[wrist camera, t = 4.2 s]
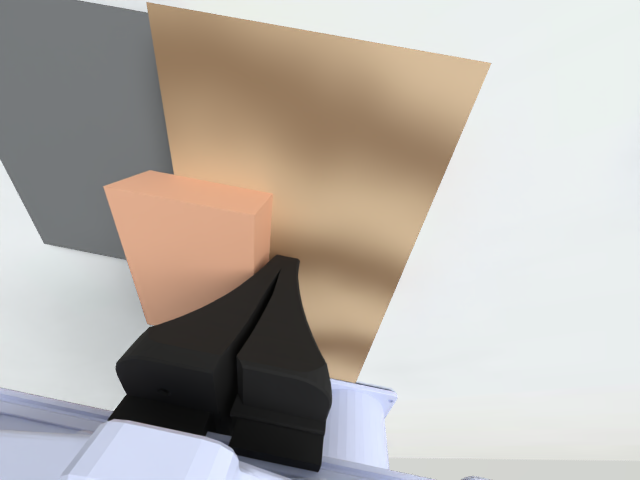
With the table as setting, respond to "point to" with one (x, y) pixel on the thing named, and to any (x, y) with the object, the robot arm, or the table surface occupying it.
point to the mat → (78, 114)
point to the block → (188, 239)
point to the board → (317, 150)
